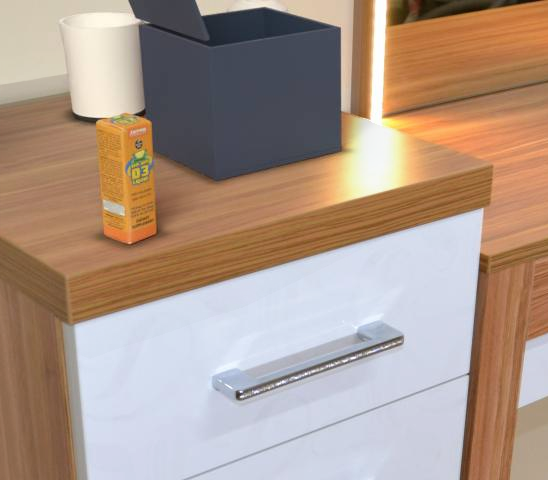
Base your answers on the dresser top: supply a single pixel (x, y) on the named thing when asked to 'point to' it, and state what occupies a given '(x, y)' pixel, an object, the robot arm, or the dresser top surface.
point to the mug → (103, 64)
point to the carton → (243, 91)
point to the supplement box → (127, 177)
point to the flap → (172, 16)
